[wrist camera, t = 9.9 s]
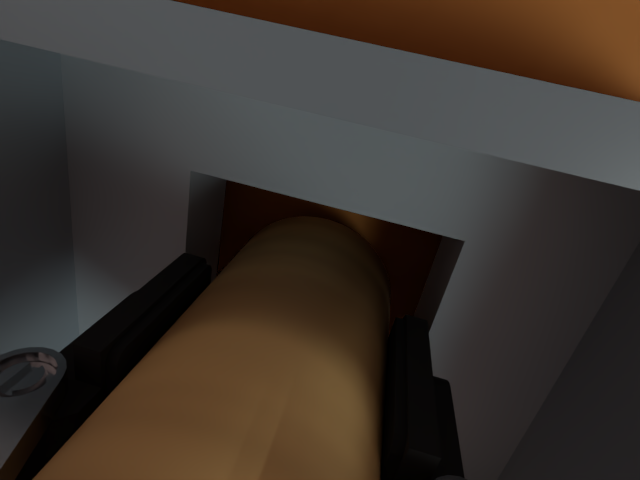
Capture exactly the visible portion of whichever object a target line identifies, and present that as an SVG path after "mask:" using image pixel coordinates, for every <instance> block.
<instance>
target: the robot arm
mask: <svg viewBox="0 0 640 480" xmlns="http://www.w3.org/2000/svg"><path fill="white" fill-rule="evenodd" d="M211 273H212V267H211V265H208V264H207V262H206V259H205V258H202V257H199V256H195V255H192V254H188V253H183V254H182V255H180V256H179V257H178V258H177V259H175V260H174V261H173V262H172V263H171V264H169V265H168V266H167V267H166V268H164V269H163V270H162V271H161V272H160V273H158V274H157V275H156V276H155V277H154V278H152V279H151V280H150V281H149V282H147V283H146V284H145V285H144V286H143V287H141V288H140V289H139V290H138V291H135V292H133V293H131V294H130V295H129V296H128V297H126V298H125V299H124V300H123V301H121V302H120V303H119V304H118V305H117V306H115V307H114V308H113V309H112V310H110V311H109V312H108V313H107V314H105V315H104V316H103V317H102V318H101V319H99V320H98V321H97V322H96V323H94V324H93V325H92V326H91V327H89V328H88V329H87V330H86V331H85V332H83V333H82V334H81V335H80V336H78V337H77V338H76V339H75V340H74V341H72V342H71V343H70V344H69V345H67V346H66V347H65V348H64V349H62V350H61V351H60V352H57V351H56V350H54V349H50V348H45V347H27V348H21V349H15V350H13V351H10V352H7V353H4V354H1V355H0V480H32V479H33V478H34V477H35V476H36V475H37V474H38V473H39V472H40V471H41V469H42V468H43V467H44V466H45V465H46V464H47V463H48V462H49V461H50V460H51V458H52V457H53V456H54V455H55V454H56V453H57V452H58V451H59V450H60V449H61V447H62V446H63V445H64V444H65V443H66V442H67V441H68V440H69V439H70V438H71V436H72V435H73V434H74V433H75V432H76V431H77V430H78V429H79V428H80V427H81V425H82V424H83V423H84V422H85V421H86V420H87V419H88V418H89V417H90V416H91V414H92V413H93V412H94V411H95V410H96V409H97V408H98V407H99V406H100V404H101V403H102V402H103V401H104V400H105V399H106V398H107V397H108V396H109V395H110V393H111V392H112V391H113V390H114V389H115V388H116V387H117V386H118V385H119V384H120V382H121V381H122V380H123V379H124V378H125V377H126V376H127V375H128V374H129V373H130V371H131V370H132V369H133V368H134V367H135V366H136V365H137V364H138V363H139V362H140V360H141V359H142V358H143V357H144V356H145V355H146V354H147V353H148V352H149V351H150V349H151V348H152V347H153V346H154V345H155V344H156V343H157V342H158V341H159V340H160V338H161V337H162V336H163V335H164V334H165V333H166V332H167V331H168V330H169V329H170V327H171V326H172V325H173V324H174V323H175V322H176V321H177V320H178V319H179V318H180V316H181V315H182V314H183V313H184V312H185V311H186V310H187V309H188V308H189V306H190V305H191V304H192V303H193V302H194V301H195V300H196V299H197V298H198V297H199V295H200V294H201V293H202V292H203V291H204V290H205V289H206V288H207V287H208V286H209V284H210V283H211ZM381 480H467V479H465V477H464V471H463V464H462V458H461V451H460V445H459V438H458V432H457V425H456V419H455V412H454V406H453V399H452V393H451V387H450V383H449V381H448V380H446V379H442V378H439V377H435V376H433V370H432V360H431V350H430V341H429V331H428V322H427V320H425V319H421V318H418V317H414V316H410V315H407V314H405V315H404V317H403V319H400V318H397V317H396V318H395V320H394V323H393V326H392V329H391V332H390V335H389V338H388V349H387V367H386V385H385V404H384V422H383V440H382V458H381Z"/></svg>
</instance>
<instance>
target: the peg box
mask: <svg viewBox="0 0 640 480" xmlns="http://www.w3.org/2000/svg"><path fill="white" fill-rule="evenodd" d="M227 180H229V181H233V182H237V183H241V184H245V185H249V186H253V187H257V188H260V189H264V190H268V191H272V192H276V193H280V194H284V195H288V196H291V197H295V198H299V199H303V200H307V201H311V202H315V203H319V204H323V205H326V206H330V207H334V208H338V209H342V210H346V211H350V212H354V213H357V214H361V215H365V216H369V217H373V218H377V219H381V220H385V221H388V222H392V223H396V224H400V225H404V226H408V227H412V228H416V229H419V230H423V231H427V232H431V233H435V234H439V235H443V237H442V239H441V242H440V245H439V248H438V250H437V253H436V256H435V259H434V261H433V264H432V267H431V270H430V272H429V275H428V278H427V281H426V283H425V286H424V289H423V292H422V294H421V297H420V300H419V302H418V305H417V308H416V311H415V313H414V317H418V318H421V319H425V320H427V322H428V331H429V341H430V350H431V360H432V370H433V376H435V377H439V378H442V379H446V380H448V381H449V383H450V387H451V393H452V399H453V406H454V412H455V419H456V425H457V432H458V438H459V445H460V451H461V458H462V464H463V471H464V477H465V479H467V480H640V102H637V101H633V100H628V99H623V98H619V97H614V96H610V95H605V94H600V93H596V92H591V91H586V90H582V89H577V88H573V87H568V86H563V85H559V84H554V83H550V82H545V81H540V80H536V79H531V78H527V77H522V76H517V75H513V74H508V73H504V72H499V71H494V70H490V69H485V68H480V67H476V66H471V65H467V64H462V63H457V62H453V61H448V60H444V59H439V58H434V57H430V56H425V55H421V54H416V53H411V52H407V51H402V50H398V49H393V48H388V47H384V46H379V45H374V44H370V43H365V42H361V41H356V40H351V39H347V38H342V37H338V36H333V35H328V34H324V33H319V32H315V31H310V30H305V29H301V28H296V27H291V26H287V25H282V24H278V23H273V22H268V21H264V20H259V19H255V18H250V17H245V16H241V15H236V14H232V13H227V12H222V11H218V10H213V9H209V8H204V7H199V6H195V5H190V4H185V3H181V2H176V1H172V0H0V355H1V354H4V353H7V352H10V351H13V350H15V349H21V348H27V347H45V348H50V349H54V350H56V351H57V352H60V351H61V350H62V349H64V348H65V347H66V346H67V345H69V344H70V343H71V342H72V341H74V340H75V339H76V338H77V337H78V336H80V335H81V334H82V333H83V332H85V331H86V330H87V329H88V328H89V327H91V326H92V325H93V324H94V323H96V322H97V321H98V320H99V319H101V318H102V317H103V316H104V315H105V314H107V313H108V312H109V311H110V310H112V309H113V308H114V307H115V306H117V305H118V304H119V303H120V302H121V301H123V300H124V299H125V298H126V297H128V296H129V295H130V294H131V293H133V292H135V291H138V290H139V289H140V288H141V287H143V286H144V285H145V284H146V283H147V282H149V281H150V280H151V279H152V278H154V277H155V276H156V275H157V274H158V273H160V272H161V271H162V270H163V269H164V268H166V267H167V266H168V265H169V264H171V263H172V262H173V261H174V260H175V259H177V258H178V257H179V256H180V255H182V254H183V253H188V254H192V255H195V256H199V257H202V258H205V259H206V262H207V264H208V265H211V267H212V273H211V282H212V281H213V280H214V279H215V278H216V275H217V266H218V256H219V247H220V237H221V228H222V218H223V209H224V199H225V190H226V181H227Z"/></svg>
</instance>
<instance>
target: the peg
mask: <svg viewBox="0 0 640 480" xmlns="http://www.w3.org/2000/svg"><path fill="white" fill-rule="evenodd" d="M390 298H391V290H390V282H389V277H388V274H387V271H386V268H385V266H384V264H383V262H382V260H381V258H380V257H379V255H378V254H377V252H376V251H375V250H374V248H373V247H372V246H371V245H370V244H369V243H368V242H367V241H366V240H365V239H364V238H362V237H361V236H360V235H359V234H357V233H356V232H354V231H353V230H351V229H350V228H348V227H346V226H344V225H342V224H339V223H337V222H334V221H331V220H328V219H324V218H319V217H309V216H301V217H291V218H286V219H282V220H279V221H276V222H274V223H272V224H270V225H268V226H266V227H264V228H263V229H262V230H260V231H259V232H258V233H256V234H255V235H254V236H253V237H252V238H251V239H250V240H249V242H248V243H247V244H246V245H245V246H244V247H243V248H242V249H241V250H240V251H239V253H238V254H237V255H236V256H235V257H234V258H233V259H232V260H231V261H230V262H229V264H228V265H227V266H226V267H225V268H224V269H223V270H222V271H221V272H220V273H219V275H218V276H217V277H216V278H215V279H214V280H213V281H212V282H211V283H210V284H209V286H208V287H207V288H206V289H205V290H204V291H203V292H202V293H201V294H200V295H199V297H198V298H197V299H196V300H195V301H194V302H193V303H192V304H191V305H190V306H189V308H188V309H187V310H186V311H185V312H184V313H183V314H182V315H181V316H180V318H179V319H178V320H177V321H176V322H175V323H174V324H173V325H172V326H171V327H170V329H169V330H168V331H167V332H166V333H165V334H164V335H163V336H162V337H161V338H160V340H159V341H158V342H157V343H156V344H155V345H154V346H153V347H152V348H151V349H150V351H149V352H148V353H147V354H146V355H145V356H144V357H143V358H142V359H141V360H140V362H139V363H138V364H137V365H136V366H135V367H134V368H133V369H132V370H131V371H130V373H129V374H128V375H127V376H126V377H125V378H124V379H123V380H122V381H121V382H120V384H119V385H118V386H117V387H116V388H115V389H114V390H113V391H112V392H111V393H110V395H109V396H108V397H107V398H106V399H105V400H104V401H103V402H102V403H101V404H100V406H99V407H98V408H97V409H96V410H95V411H94V412H93V413H92V414H91V416H90V417H89V418H88V419H87V420H86V421H85V422H84V423H83V424H82V425H81V427H80V428H79V429H78V430H77V431H76V432H75V433H74V434H73V435H72V436H71V438H70V439H69V440H68V441H67V442H66V443H65V444H64V445H63V446H62V447H61V449H60V450H59V451H58V452H57V453H56V454H55V455H54V456H53V457H52V458H51V460H50V461H49V462H48V463H47V464H46V465H45V466H44V467H43V468H42V469H41V471H40V472H39V473H38V474H37V475H36V476H35V477H34V478H33V479H32V480H381V458H382V440H383V422H384V404H385V385H386V367H387V349H388V336H389V317H390Z"/></svg>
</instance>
